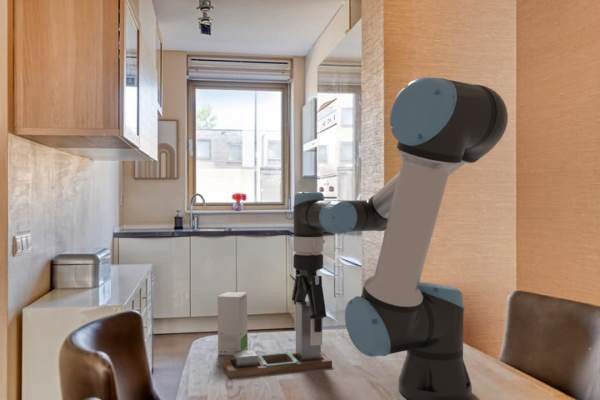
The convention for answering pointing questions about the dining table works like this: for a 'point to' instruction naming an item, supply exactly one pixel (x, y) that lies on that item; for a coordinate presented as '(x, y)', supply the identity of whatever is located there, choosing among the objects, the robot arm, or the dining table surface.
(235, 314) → the skincare box
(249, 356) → the grey concrete cube
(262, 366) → the wooden holder tray
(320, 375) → the dining table surface
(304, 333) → the brushed grey block
